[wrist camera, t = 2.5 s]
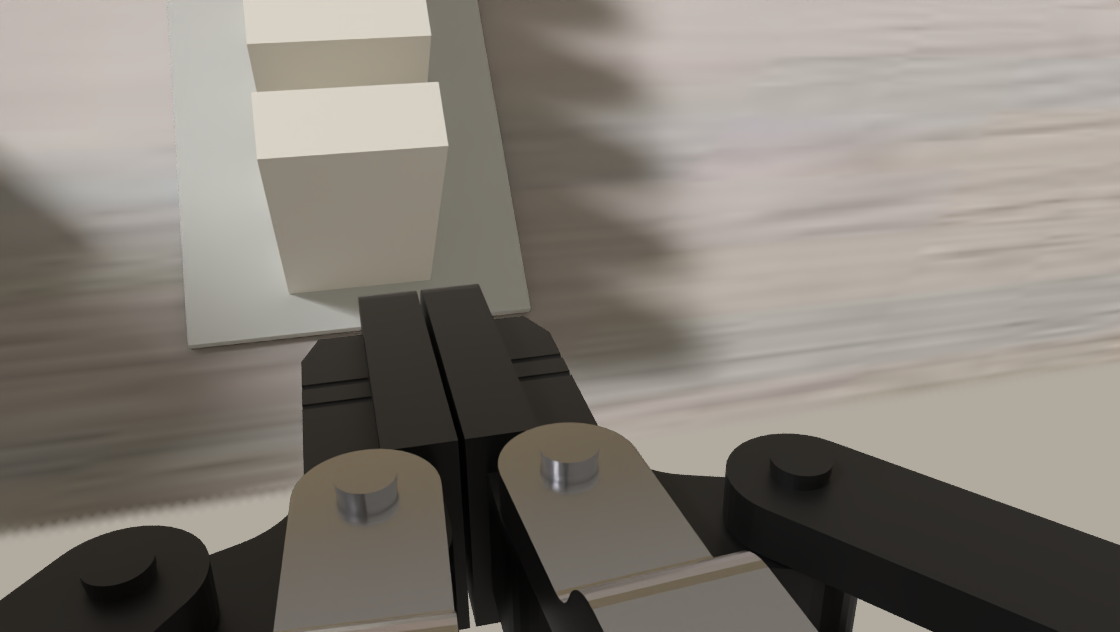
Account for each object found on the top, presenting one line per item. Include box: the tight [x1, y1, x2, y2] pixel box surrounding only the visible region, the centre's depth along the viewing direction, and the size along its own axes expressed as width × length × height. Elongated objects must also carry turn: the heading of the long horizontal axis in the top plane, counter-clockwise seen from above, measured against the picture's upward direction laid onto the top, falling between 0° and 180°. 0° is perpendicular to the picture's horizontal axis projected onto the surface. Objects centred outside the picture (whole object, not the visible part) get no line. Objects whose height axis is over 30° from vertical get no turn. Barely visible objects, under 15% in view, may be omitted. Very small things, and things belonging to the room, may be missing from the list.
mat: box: [167, 0, 531, 349], centre depth 38 cm, size 12×21×1 cm, turn 10°
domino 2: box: [251, 82, 448, 294], centre depth 31 cm, size 5×2×10 cm, turn 100°
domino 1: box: [243, 0, 431, 92], centre depth 32 cm, size 5×2×10 cm, turn 100°
